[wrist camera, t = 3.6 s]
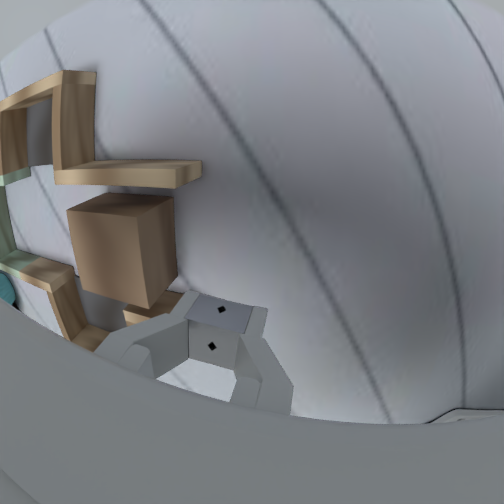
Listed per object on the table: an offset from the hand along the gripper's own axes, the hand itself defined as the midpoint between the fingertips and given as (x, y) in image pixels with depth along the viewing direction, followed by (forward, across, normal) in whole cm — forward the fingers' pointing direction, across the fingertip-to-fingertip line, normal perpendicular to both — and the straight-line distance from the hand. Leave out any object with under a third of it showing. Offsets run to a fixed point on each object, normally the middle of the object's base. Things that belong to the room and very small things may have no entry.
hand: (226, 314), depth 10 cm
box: (+9, +17, +2) cm, 19 cm away
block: (+9, +9, +2) cm, 13 cm away
